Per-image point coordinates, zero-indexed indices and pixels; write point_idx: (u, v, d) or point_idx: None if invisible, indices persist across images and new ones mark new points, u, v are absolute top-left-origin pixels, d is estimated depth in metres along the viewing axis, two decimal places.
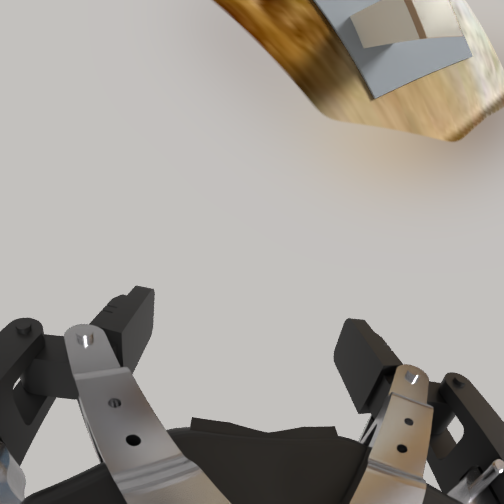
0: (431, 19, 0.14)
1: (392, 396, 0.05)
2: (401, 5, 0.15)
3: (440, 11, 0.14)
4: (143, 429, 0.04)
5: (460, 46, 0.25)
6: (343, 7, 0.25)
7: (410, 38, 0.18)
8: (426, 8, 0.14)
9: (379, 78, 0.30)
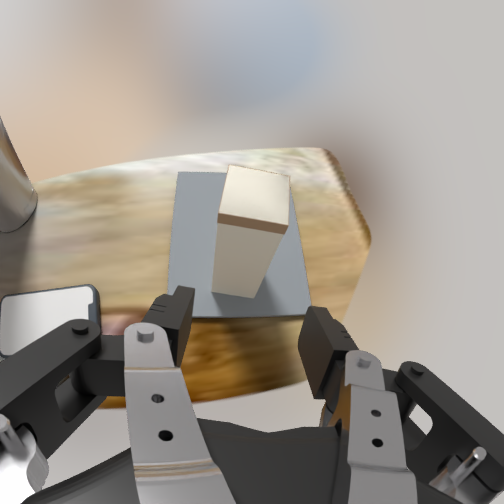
0: (265, 205, 0.21)
1: (352, 388, 0.06)
2: (234, 230, 0.22)
3: (256, 186, 0.22)
4: (179, 427, 0.04)
5: None
6: (198, 291, 0.33)
7: (277, 244, 0.23)
8: (249, 203, 0.21)
9: (292, 298, 0.34)
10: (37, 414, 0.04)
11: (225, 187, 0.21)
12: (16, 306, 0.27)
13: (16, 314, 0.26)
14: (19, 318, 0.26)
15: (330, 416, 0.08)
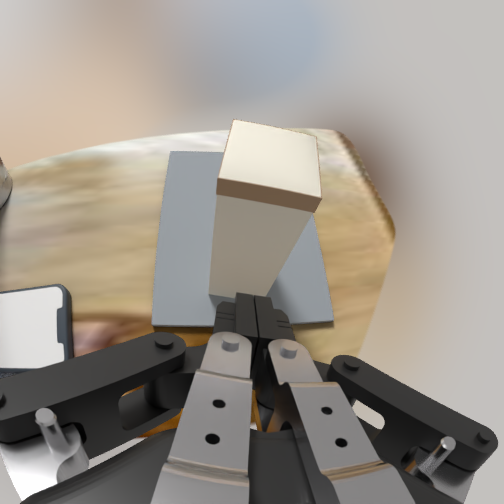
0: (286, 169, 0.14)
1: (292, 388, 0.06)
2: (240, 207, 0.15)
3: (272, 146, 0.15)
4: (229, 434, 0.04)
5: None
6: (191, 293, 0.26)
7: (301, 229, 0.16)
8: (264, 166, 0.14)
9: (309, 301, 0.27)
10: (93, 417, 0.05)
11: (228, 145, 0.14)
12: None
13: None
14: None
15: (265, 412, 0.08)
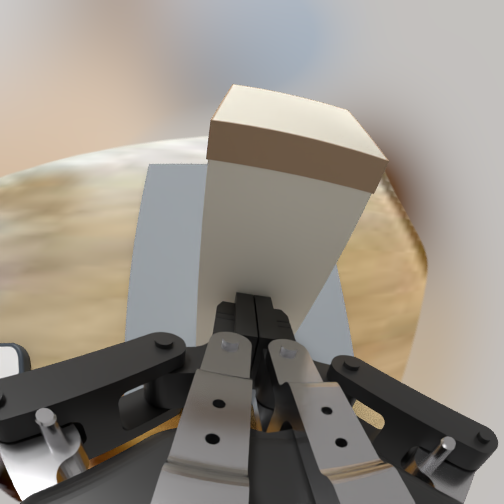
0: (323, 126, 0.08)
1: (292, 388, 0.06)
2: (250, 187, 0.08)
3: (293, 106, 0.09)
4: (229, 434, 0.04)
5: None
6: None
7: (348, 231, 0.09)
8: (288, 118, 0.08)
9: None
10: (93, 417, 0.05)
11: (228, 98, 0.09)
12: None
13: None
14: None
15: (265, 412, 0.08)
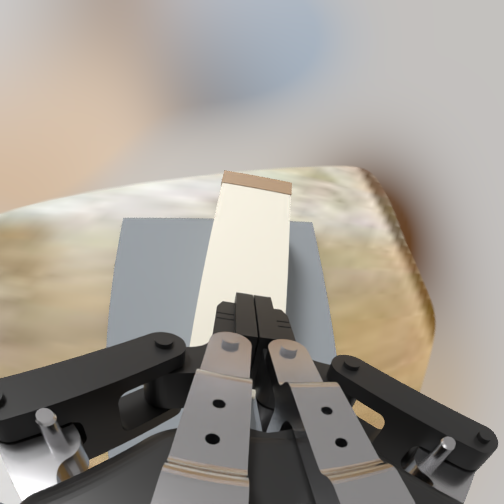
0: None
1: (292, 388, 0.06)
2: (239, 192, 0.20)
3: None
4: (229, 434, 0.04)
5: (292, 240, 0.25)
6: None
7: (288, 212, 0.20)
8: None
9: None
10: (93, 417, 0.05)
11: None
12: None
13: None
14: None
15: (265, 412, 0.08)
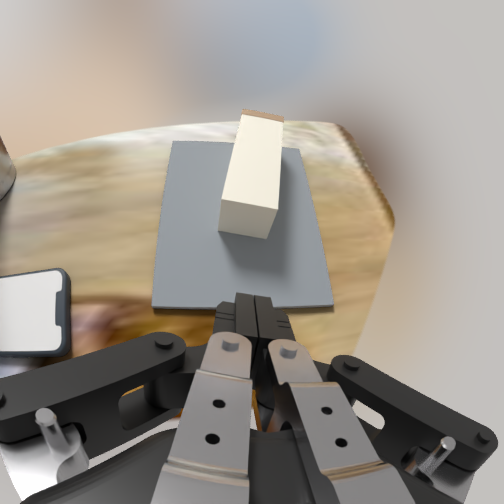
0: None
1: (292, 388, 0.06)
2: (252, 119, 0.31)
3: None
4: (229, 434, 0.04)
5: (285, 156, 0.36)
6: (191, 276, 0.26)
7: (281, 129, 0.31)
8: None
9: (309, 285, 0.28)
10: (93, 417, 0.05)
11: None
12: None
13: None
14: None
15: (265, 412, 0.08)
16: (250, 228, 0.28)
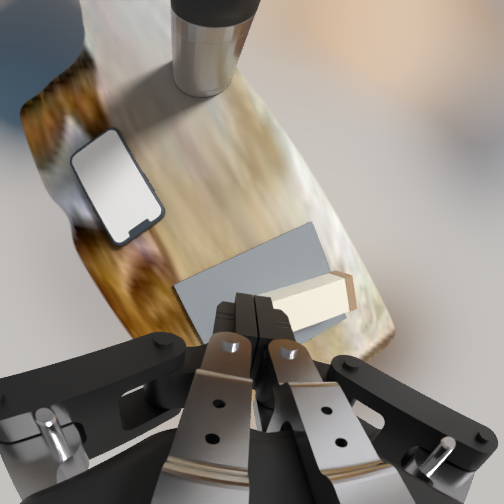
0: None
1: (291, 388, 0.06)
2: (342, 288, 0.39)
3: None
4: (228, 434, 0.04)
5: None
6: (203, 299, 0.40)
7: (340, 313, 0.39)
8: None
9: None
10: (93, 417, 0.05)
11: None
12: (113, 149, 0.35)
13: (107, 153, 0.35)
14: (105, 159, 0.35)
15: (265, 412, 0.08)
16: None
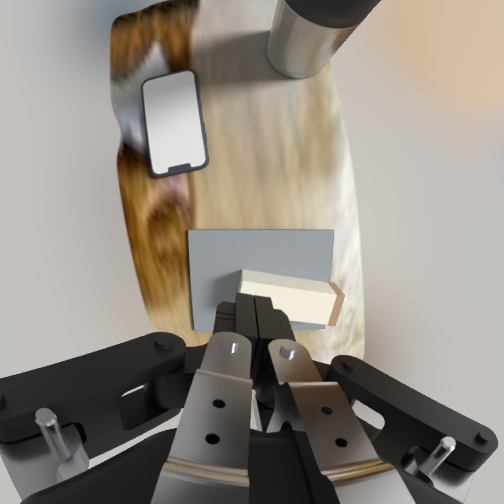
0: None
1: (291, 388, 0.06)
2: (330, 302, 0.40)
3: None
4: (229, 434, 0.04)
5: None
6: (208, 253, 0.43)
7: (318, 322, 0.41)
8: None
9: (206, 319, 0.46)
10: (93, 417, 0.05)
11: (339, 289, 0.43)
12: (184, 89, 0.36)
13: (178, 91, 0.36)
14: (174, 95, 0.36)
15: (265, 412, 0.08)
16: None
